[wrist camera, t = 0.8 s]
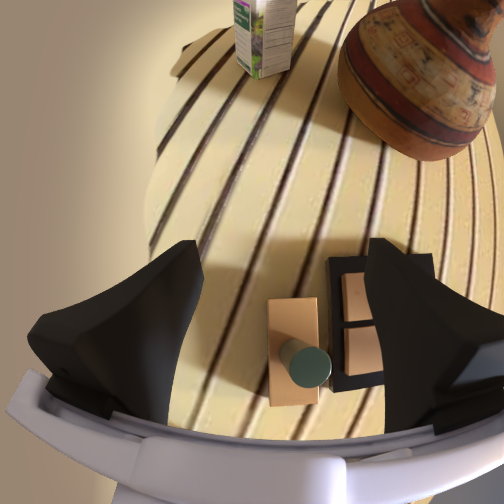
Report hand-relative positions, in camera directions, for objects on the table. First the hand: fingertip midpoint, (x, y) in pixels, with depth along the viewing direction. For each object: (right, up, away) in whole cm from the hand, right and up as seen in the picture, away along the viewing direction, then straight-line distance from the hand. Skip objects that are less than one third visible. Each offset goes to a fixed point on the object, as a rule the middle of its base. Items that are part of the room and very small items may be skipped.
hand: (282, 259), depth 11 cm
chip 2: (+9, -8, +10) cm, 16 cm away
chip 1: (+9, -4, +11) cm, 15 cm away
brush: (+2, -8, +12) cm, 15 cm away
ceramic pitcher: (+19, +19, +19) cm, 33 cm away
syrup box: (0, +26, +21) cm, 34 cm away
